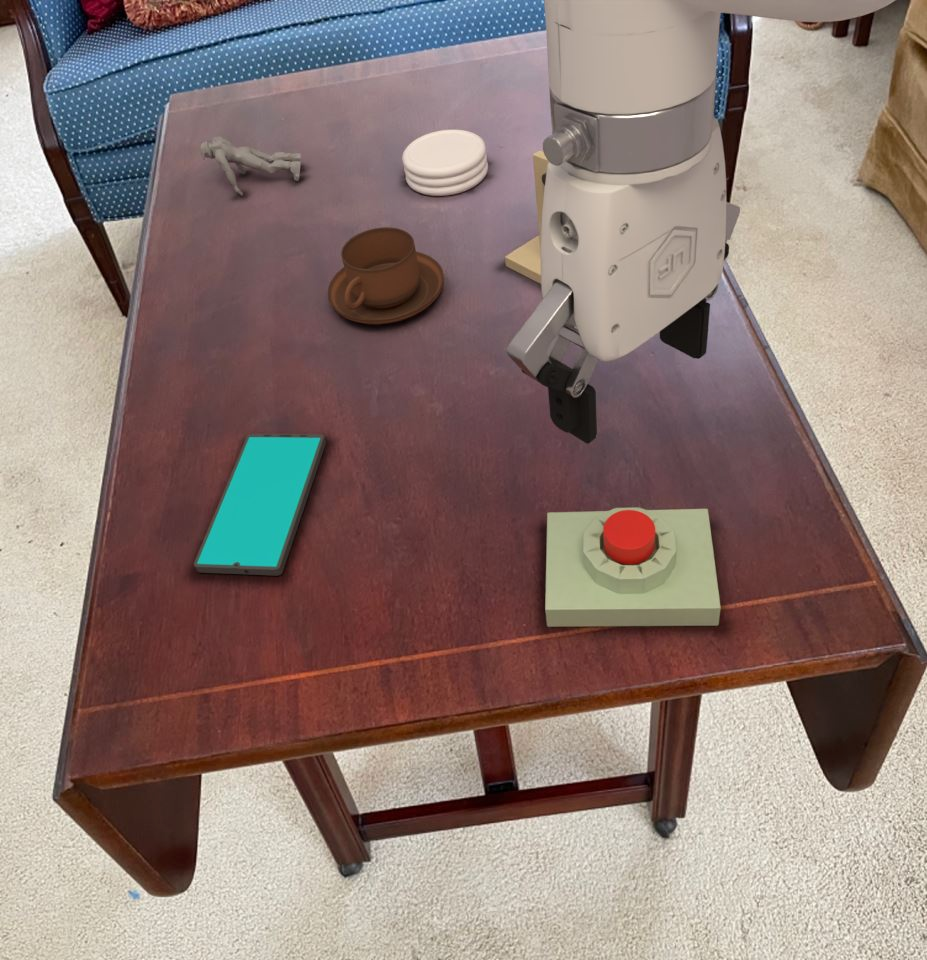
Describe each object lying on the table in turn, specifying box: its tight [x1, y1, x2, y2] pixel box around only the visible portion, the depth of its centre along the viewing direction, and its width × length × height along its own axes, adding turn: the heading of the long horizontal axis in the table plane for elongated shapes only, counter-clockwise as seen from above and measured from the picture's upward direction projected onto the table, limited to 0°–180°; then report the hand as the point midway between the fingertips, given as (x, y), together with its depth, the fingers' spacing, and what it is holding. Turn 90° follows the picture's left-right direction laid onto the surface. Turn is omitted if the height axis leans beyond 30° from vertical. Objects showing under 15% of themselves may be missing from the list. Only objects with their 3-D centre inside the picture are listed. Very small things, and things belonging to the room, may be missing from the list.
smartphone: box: [193, 433, 327, 577], centre depth 79 cm, size 7×1×15 cm
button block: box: [544, 506, 721, 628], centre depth 68 cm, size 12×9×4 cm
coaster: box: [401, 129, 489, 197], centre depth 111 cm, size 10×10×4 cm
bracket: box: [504, 150, 549, 285], centre depth 92 cm, size 11×9×13 cm
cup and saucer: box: [327, 226, 445, 325], centre depth 95 cm, size 12×12×6 cm
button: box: [603, 510, 655, 564], centre depth 66 cm, size 4×4×2 cm
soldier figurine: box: [199, 135, 302, 197], centre depth 116 cm, size 6×5×12 cm
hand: (629, 387), depth 57 cm, fingers open, 9 cm apart
